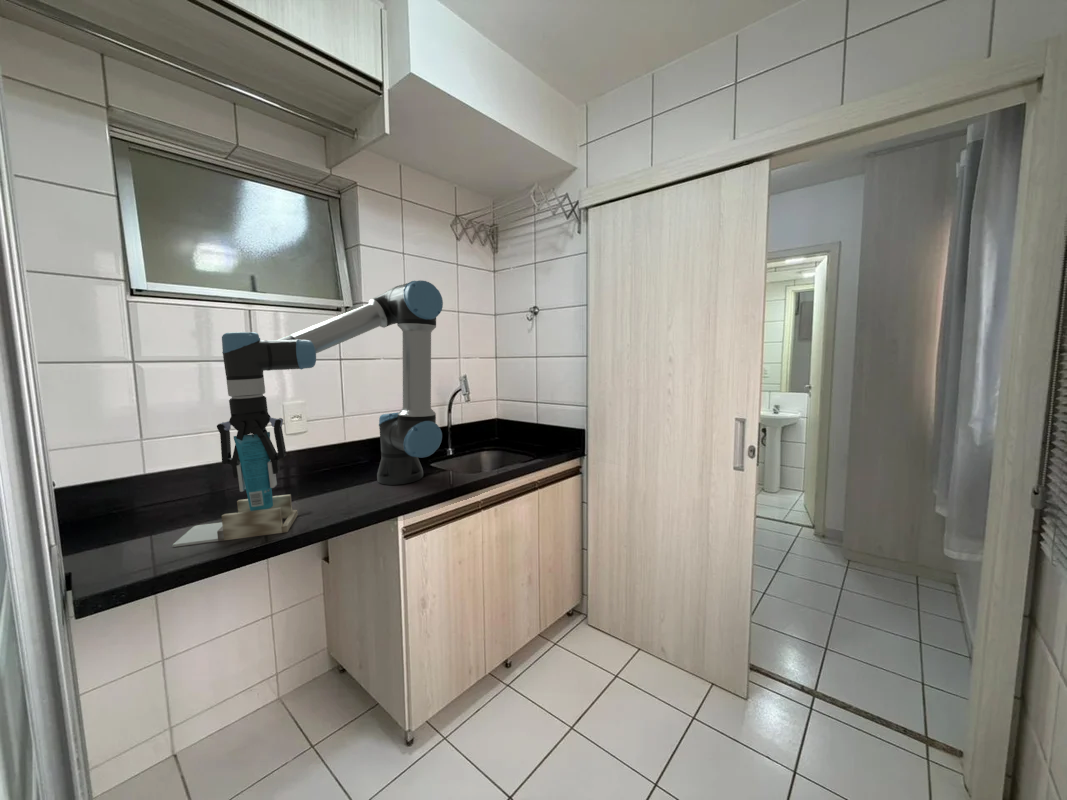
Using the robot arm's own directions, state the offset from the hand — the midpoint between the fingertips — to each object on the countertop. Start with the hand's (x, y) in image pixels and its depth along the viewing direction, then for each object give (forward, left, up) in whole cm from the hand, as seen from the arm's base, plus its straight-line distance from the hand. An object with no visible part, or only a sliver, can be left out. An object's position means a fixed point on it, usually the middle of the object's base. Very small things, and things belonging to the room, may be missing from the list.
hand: (258, 487), depth 104 cm
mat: (+12, 0, -10) cm, 16 cm away
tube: (0, 0, -6) cm, 6 cm away
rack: (0, 0, -10) cm, 10 cm away
